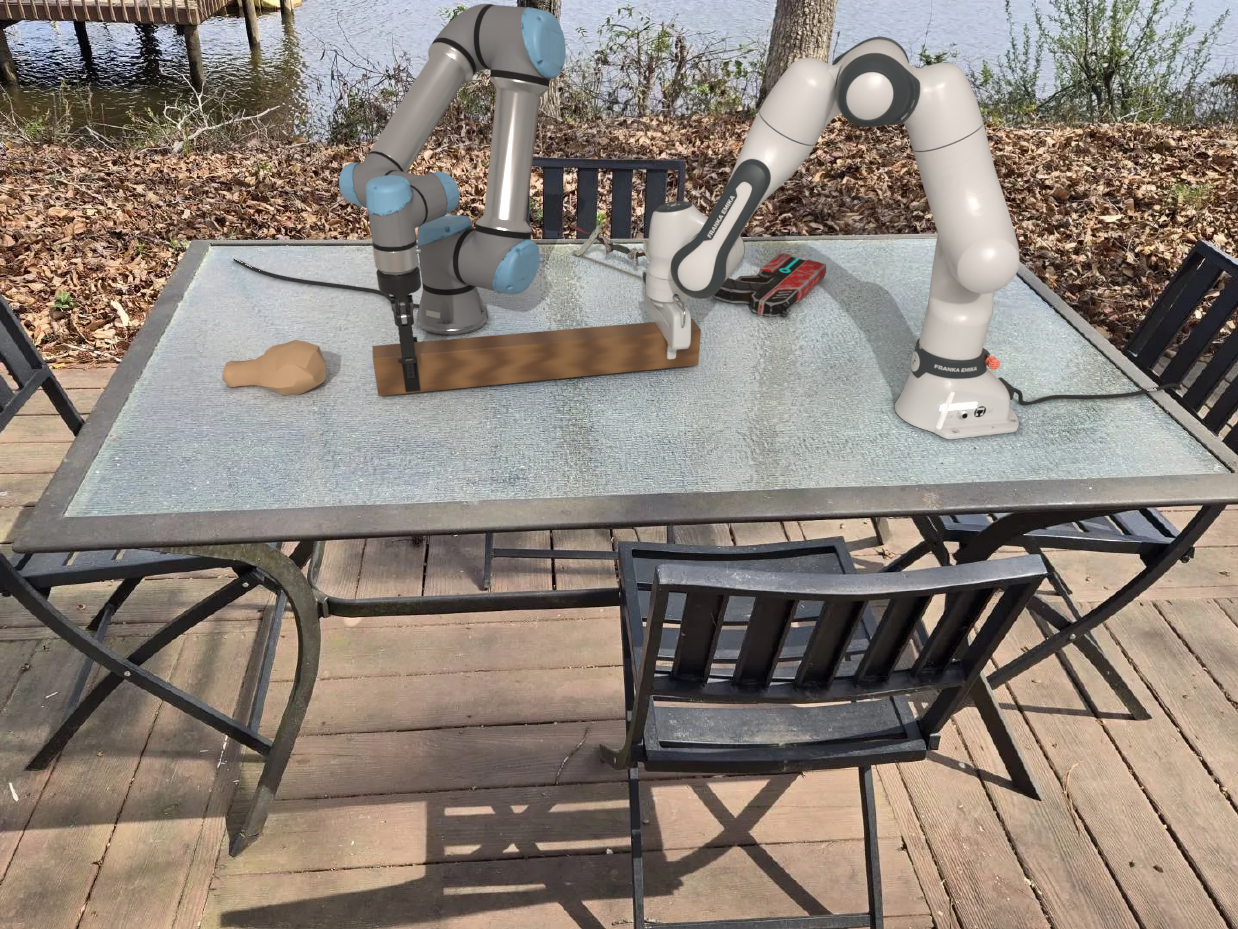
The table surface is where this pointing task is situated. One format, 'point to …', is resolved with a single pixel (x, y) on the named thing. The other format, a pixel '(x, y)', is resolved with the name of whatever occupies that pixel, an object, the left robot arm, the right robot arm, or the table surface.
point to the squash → (280, 369)
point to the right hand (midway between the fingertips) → (665, 350)
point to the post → (531, 357)
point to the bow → (611, 247)
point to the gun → (774, 285)
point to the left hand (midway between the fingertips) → (411, 382)
